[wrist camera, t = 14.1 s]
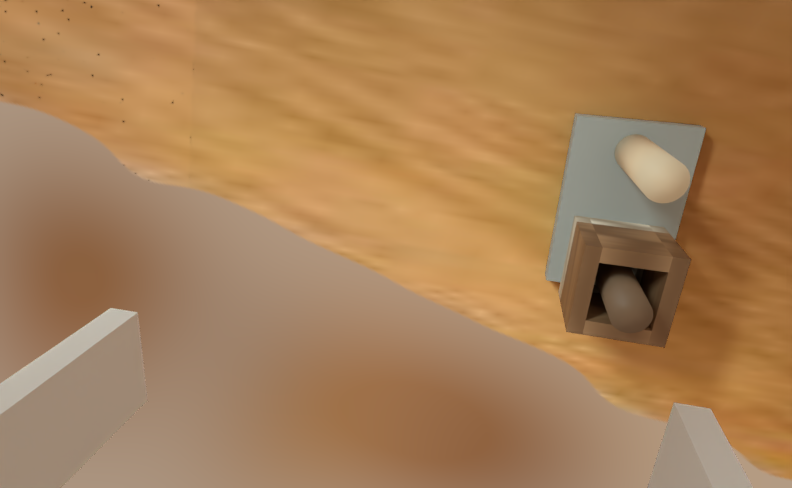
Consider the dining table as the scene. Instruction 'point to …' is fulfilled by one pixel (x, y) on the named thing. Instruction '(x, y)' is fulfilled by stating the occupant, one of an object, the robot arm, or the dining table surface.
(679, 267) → the brown open cube
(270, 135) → the dining table surface
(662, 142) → the pin stand
